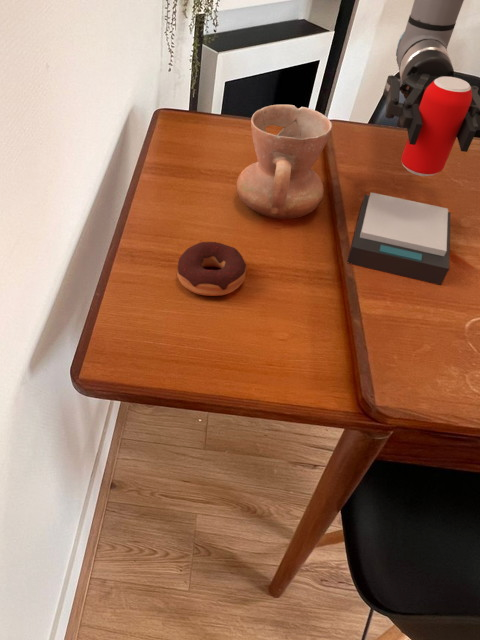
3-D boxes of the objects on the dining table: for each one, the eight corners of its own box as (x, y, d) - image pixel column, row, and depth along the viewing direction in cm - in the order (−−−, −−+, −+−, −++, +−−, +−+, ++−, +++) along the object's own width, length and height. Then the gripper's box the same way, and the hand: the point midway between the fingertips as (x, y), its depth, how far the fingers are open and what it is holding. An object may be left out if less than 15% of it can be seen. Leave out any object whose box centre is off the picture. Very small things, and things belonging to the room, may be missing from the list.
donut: (212, 249, 81) (214, 227, 78) (259, 281, 76) (263, 259, 73) (162, 275, 76) (162, 252, 73) (208, 311, 71) (210, 288, 68)
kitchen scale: (441, 285, 78) (452, 263, 75) (346, 263, 80) (353, 240, 77) (443, 228, 88) (453, 206, 85) (359, 210, 90) (366, 188, 87)
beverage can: (434, 160, 80) (469, 75, 71) (445, 181, 76) (483, 93, 67) (394, 158, 80) (424, 72, 71) (403, 178, 76) (436, 90, 67)
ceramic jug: (244, 174, 97) (254, 91, 86) (323, 187, 95) (343, 105, 84) (224, 227, 85) (232, 139, 74) (313, 243, 83) (335, 156, 72)
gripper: (476, 107, 87) (502, 175, 71) (359, 92, 88) (361, 155, 73) (498, 56, 81) (531, 118, 66) (373, 41, 83) (377, 98, 67)
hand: (442, 137), depth 69 cm, fingers closed on beverage can, 6 cm apart
